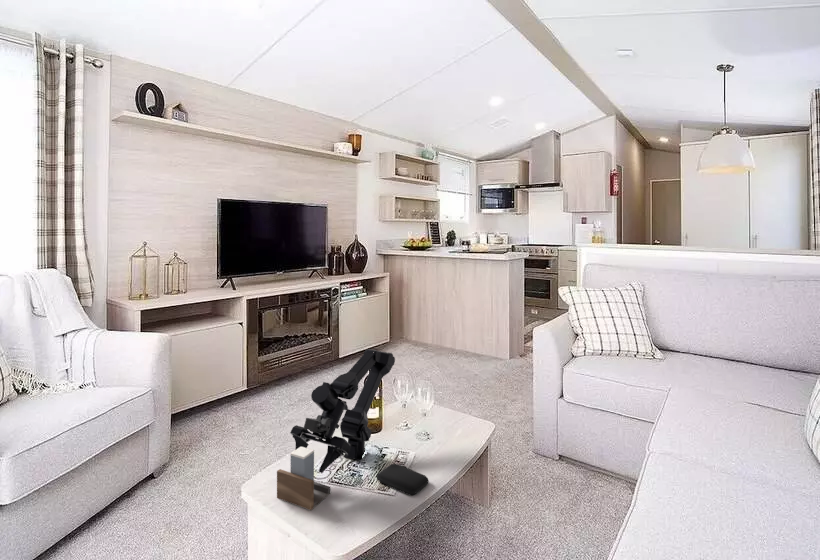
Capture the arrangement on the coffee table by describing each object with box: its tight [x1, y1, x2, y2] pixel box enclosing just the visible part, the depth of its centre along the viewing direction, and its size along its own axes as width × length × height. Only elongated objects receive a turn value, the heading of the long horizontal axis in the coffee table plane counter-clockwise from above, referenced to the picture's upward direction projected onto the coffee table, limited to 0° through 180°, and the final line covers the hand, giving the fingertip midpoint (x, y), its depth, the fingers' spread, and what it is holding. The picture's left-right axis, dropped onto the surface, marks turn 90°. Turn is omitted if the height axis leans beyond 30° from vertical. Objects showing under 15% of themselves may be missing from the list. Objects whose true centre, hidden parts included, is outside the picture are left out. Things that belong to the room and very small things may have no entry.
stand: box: [276, 468, 331, 511], centre depth 130 cm, size 9×12×8 cm
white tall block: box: [290, 447, 315, 481], centre depth 129 cm, size 5×5×13 cm
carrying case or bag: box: [376, 463, 430, 496], centre depth 139 cm, size 11×3×15 cm
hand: (307, 468), depth 131 cm, fingers open, 9 cm apart
